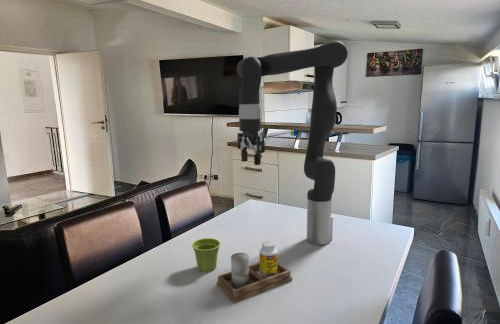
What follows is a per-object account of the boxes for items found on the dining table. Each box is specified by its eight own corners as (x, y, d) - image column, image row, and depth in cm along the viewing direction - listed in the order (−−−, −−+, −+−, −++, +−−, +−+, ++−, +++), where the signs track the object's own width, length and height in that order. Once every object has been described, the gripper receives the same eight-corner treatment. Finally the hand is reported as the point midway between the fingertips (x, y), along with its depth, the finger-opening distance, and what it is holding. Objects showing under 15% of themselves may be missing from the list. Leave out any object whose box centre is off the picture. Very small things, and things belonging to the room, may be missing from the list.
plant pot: (209, 258, 119) (208, 235, 118) (226, 267, 113) (226, 243, 111) (187, 268, 113) (186, 243, 111) (204, 278, 106) (203, 252, 105)
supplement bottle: (266, 280, 101) (266, 249, 100) (256, 272, 106) (255, 242, 104) (280, 275, 104) (281, 244, 102) (270, 268, 109) (270, 238, 107)
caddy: (271, 266, 113) (271, 238, 111) (292, 280, 104) (292, 250, 102) (216, 285, 102) (215, 254, 100) (233, 303, 93) (232, 269, 91)
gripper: (270, 117, 113) (271, 164, 116) (248, 116, 124) (249, 159, 127) (251, 118, 109) (252, 167, 112) (230, 117, 121) (231, 161, 124)
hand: (250, 163), depth 120 cm, fingers open, 8 cm apart
